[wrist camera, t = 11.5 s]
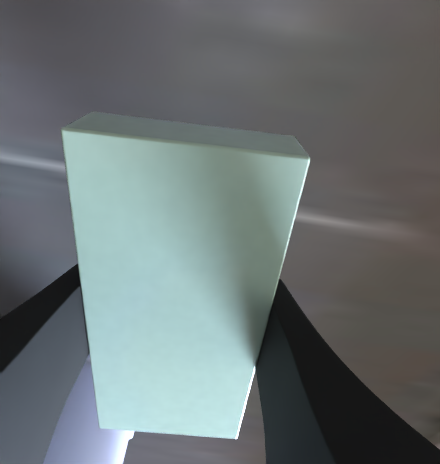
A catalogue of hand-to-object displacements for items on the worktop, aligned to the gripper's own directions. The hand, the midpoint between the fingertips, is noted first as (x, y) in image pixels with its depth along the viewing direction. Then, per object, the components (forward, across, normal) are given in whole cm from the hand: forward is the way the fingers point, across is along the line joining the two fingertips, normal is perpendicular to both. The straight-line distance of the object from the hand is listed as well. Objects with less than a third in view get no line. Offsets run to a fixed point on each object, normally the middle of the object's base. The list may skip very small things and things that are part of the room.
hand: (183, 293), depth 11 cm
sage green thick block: (+2, 0, 0) cm, 2 cm away
